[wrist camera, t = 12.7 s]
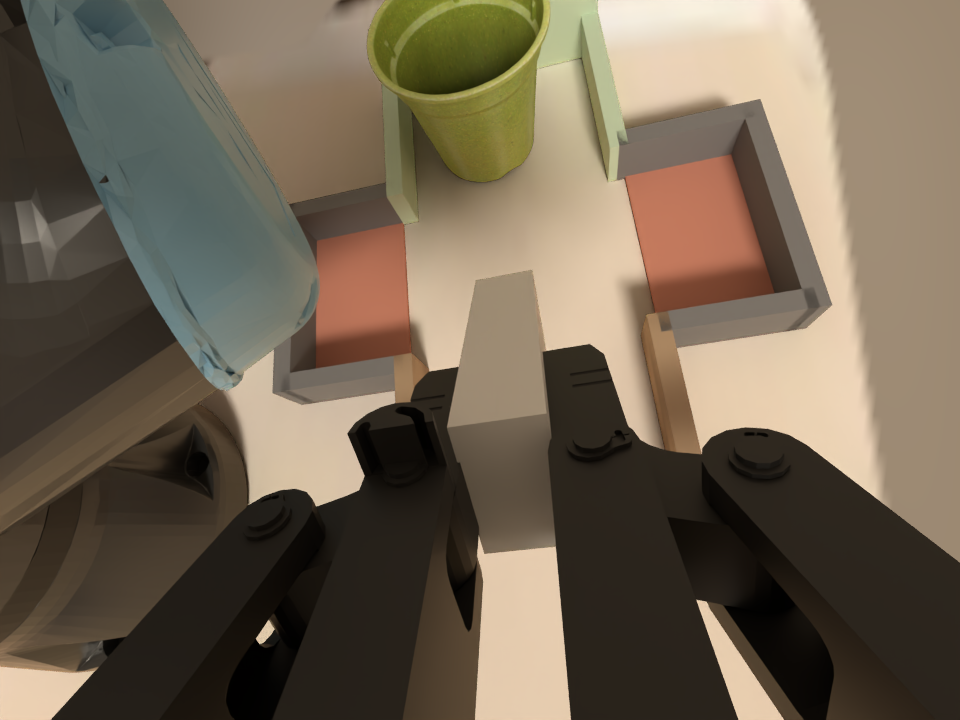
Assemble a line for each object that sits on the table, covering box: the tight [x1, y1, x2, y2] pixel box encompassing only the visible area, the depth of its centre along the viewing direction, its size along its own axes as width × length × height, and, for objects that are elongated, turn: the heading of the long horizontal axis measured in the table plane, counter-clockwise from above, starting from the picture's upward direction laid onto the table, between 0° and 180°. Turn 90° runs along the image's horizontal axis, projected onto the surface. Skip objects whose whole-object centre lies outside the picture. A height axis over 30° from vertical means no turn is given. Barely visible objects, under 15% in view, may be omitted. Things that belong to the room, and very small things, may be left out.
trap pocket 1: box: [617, 99, 832, 348], centre depth 27 cm, size 12×8×3 cm, turn 6°
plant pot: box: [367, 0, 550, 182], centre depth 29 cm, size 9×9×9 cm
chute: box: [394, 311, 701, 454], centre depth 25 cm, size 10×14×3 cm
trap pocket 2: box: [273, 182, 411, 405], centre depth 30 cm, size 12×8×3 cm, turn 6°
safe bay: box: [368, 0, 628, 224], centre depth 31 cm, size 11×14×5 cm
